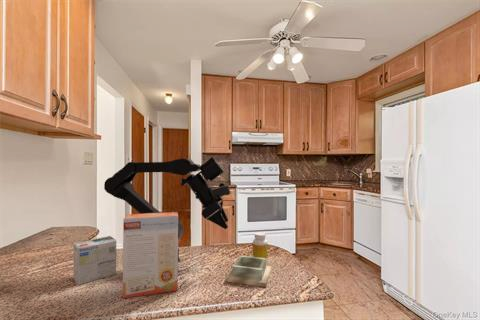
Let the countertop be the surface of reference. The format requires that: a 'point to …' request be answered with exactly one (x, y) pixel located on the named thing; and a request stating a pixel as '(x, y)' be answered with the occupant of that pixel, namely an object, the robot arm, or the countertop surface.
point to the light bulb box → (94, 259)
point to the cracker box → (150, 253)
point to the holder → (250, 271)
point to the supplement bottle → (260, 245)
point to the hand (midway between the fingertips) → (227, 224)
